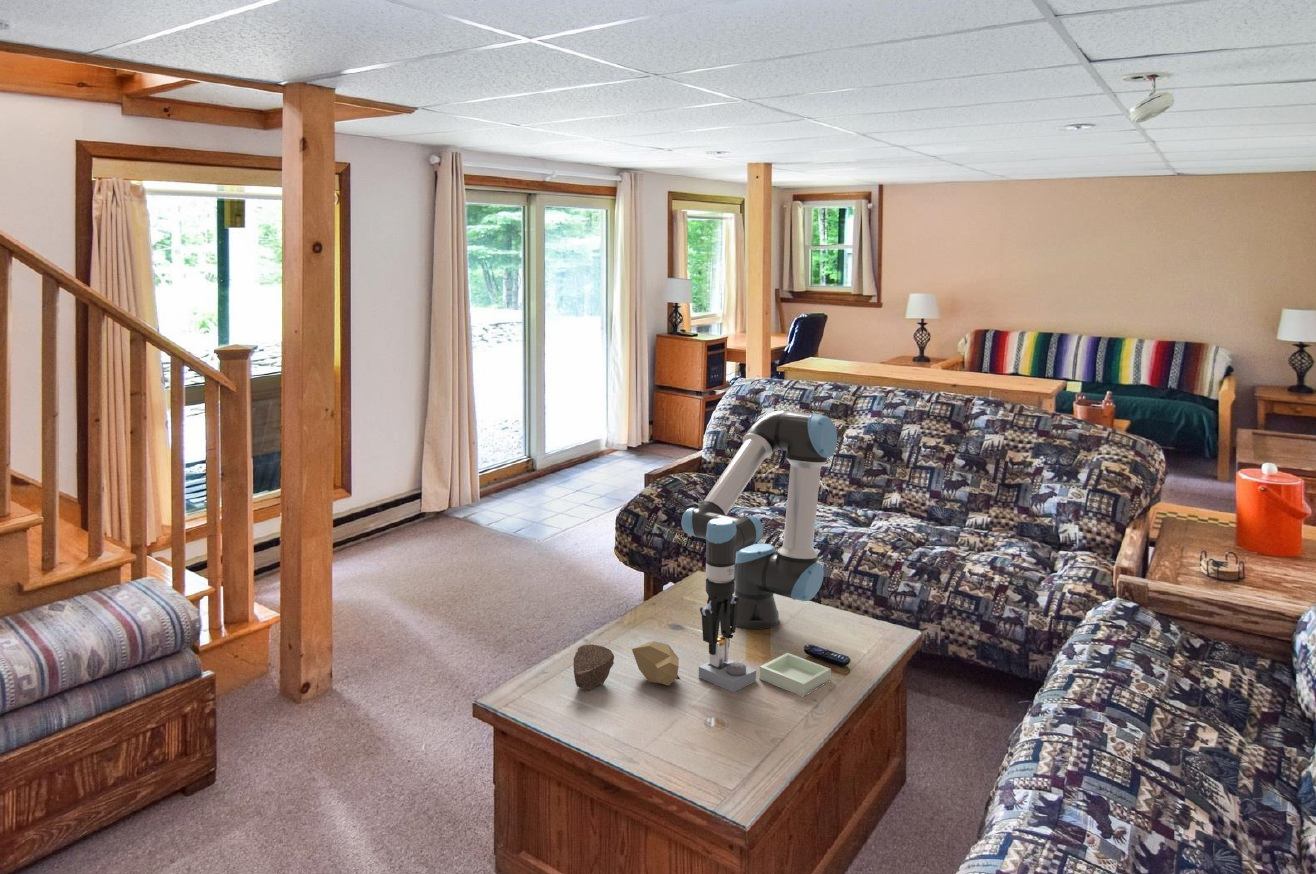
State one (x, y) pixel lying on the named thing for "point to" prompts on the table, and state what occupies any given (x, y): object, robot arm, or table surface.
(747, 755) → the table surface
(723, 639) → the lock pin
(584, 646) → the rock
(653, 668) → the low-poly potato
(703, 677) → the block
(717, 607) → the robot arm
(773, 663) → the tray
